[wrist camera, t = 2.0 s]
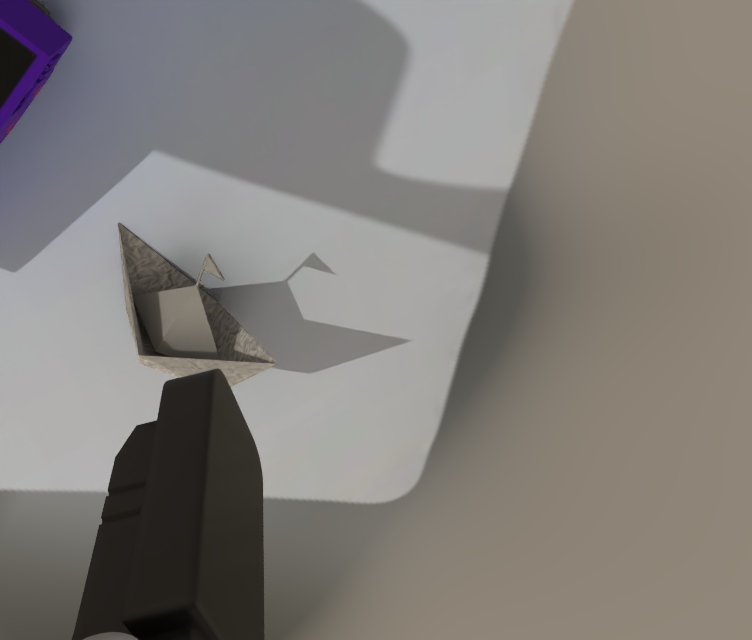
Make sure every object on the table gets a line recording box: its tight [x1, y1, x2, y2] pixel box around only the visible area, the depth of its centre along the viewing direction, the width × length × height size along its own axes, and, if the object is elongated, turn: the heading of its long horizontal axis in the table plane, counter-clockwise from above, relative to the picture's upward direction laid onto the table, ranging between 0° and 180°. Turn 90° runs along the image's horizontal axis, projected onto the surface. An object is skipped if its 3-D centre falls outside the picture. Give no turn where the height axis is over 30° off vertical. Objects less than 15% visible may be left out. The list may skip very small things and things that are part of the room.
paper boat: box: [118, 223, 277, 387], centre depth 36 cm, size 12×6×9 cm
